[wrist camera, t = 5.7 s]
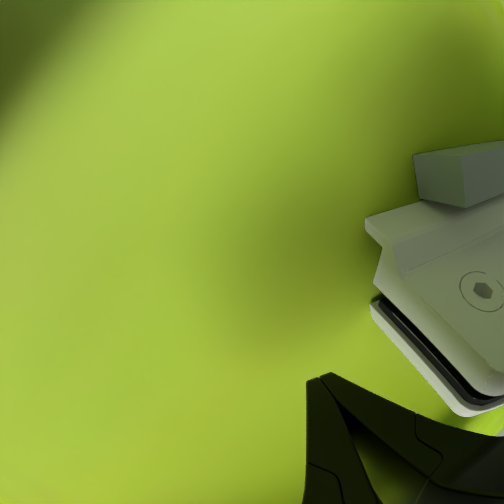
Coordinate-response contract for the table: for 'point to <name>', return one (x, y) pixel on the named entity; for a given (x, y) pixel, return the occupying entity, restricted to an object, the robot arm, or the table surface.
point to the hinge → (445, 296)
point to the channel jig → (461, 173)
